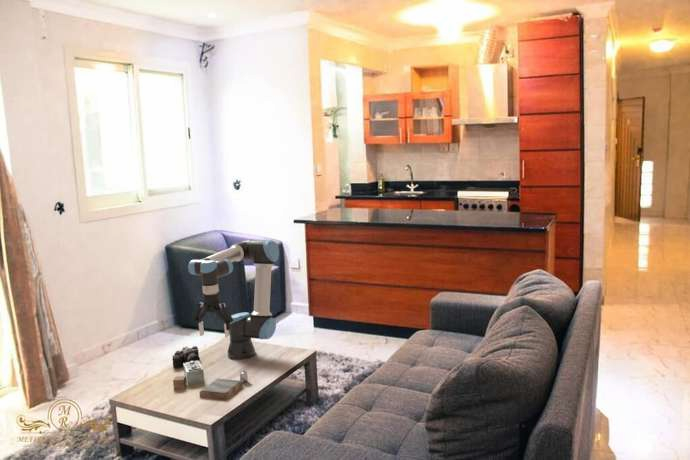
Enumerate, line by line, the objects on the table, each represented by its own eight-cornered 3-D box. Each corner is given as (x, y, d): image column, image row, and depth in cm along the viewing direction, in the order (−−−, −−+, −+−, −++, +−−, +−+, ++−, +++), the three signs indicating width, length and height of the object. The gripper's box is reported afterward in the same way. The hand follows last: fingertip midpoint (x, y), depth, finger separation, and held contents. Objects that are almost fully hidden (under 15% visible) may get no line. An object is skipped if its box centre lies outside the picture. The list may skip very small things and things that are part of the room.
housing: (199, 373, 299) (198, 358, 298) (204, 382, 286) (203, 366, 285) (184, 376, 296) (183, 360, 295) (187, 385, 283) (186, 369, 282)
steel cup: (242, 380, 287) (241, 370, 286) (249, 381, 285) (248, 371, 285) (239, 383, 283) (238, 373, 283) (245, 383, 282) (245, 374, 281)
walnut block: (176, 385, 283) (175, 376, 283) (186, 385, 283) (185, 375, 283) (173, 389, 278) (173, 380, 278) (184, 389, 278) (183, 379, 278)
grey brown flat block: (217, 383, 283) (217, 378, 283) (242, 386, 279) (242, 380, 279) (199, 396, 268) (199, 390, 268) (226, 399, 264) (225, 393, 264)
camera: (182, 372, 301) (181, 354, 300) (171, 368, 308) (170, 350, 306) (207, 363, 313) (206, 345, 312) (195, 359, 320) (194, 342, 318)
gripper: (183, 294, 273) (187, 337, 276) (230, 295, 266) (234, 339, 269) (191, 290, 280) (195, 332, 283) (238, 291, 273) (241, 334, 276)
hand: (214, 335), depth 276 cm, fingers open, 13 cm apart
